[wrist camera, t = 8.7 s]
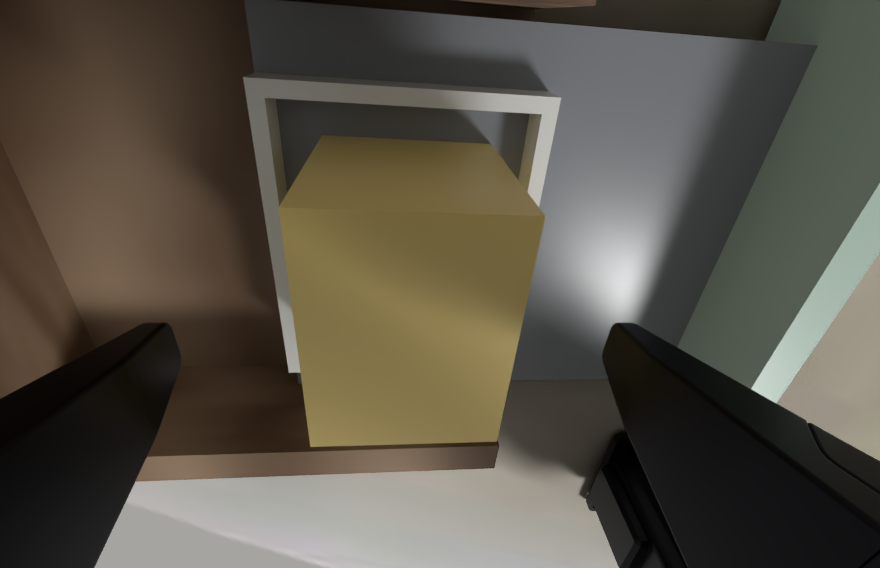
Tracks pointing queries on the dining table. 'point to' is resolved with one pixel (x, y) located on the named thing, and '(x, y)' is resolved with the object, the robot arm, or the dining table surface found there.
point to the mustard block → (407, 288)
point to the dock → (164, 224)
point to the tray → (614, 164)
